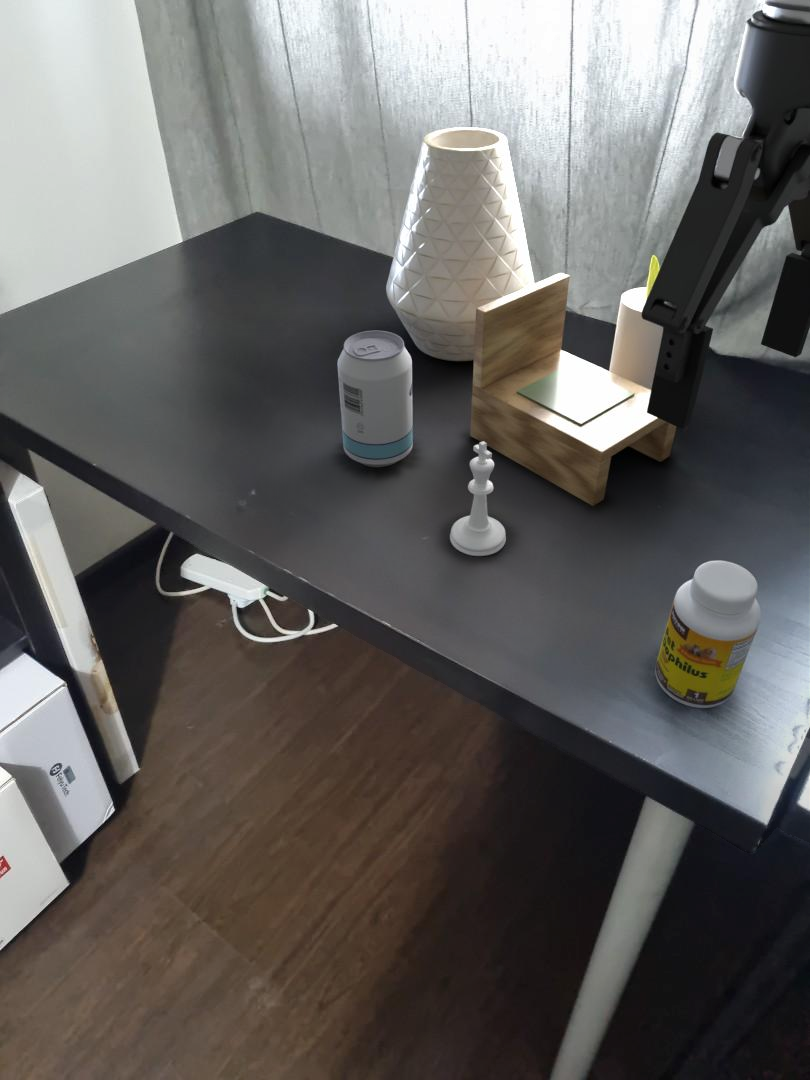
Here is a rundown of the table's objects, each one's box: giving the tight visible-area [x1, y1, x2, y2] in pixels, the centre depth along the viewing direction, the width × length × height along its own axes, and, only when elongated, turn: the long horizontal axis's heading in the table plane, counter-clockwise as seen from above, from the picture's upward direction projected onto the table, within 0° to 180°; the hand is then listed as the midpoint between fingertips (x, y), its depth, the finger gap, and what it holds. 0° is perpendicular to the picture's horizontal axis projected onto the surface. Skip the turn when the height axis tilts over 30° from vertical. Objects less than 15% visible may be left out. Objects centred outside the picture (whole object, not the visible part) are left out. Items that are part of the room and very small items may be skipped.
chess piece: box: [449, 441, 507, 557], centre depth 70 cm, size 5×5×10 cm
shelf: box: [470, 272, 677, 507], centre depth 79 cm, size 16×12×14 cm
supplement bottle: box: [654, 560, 762, 709], centre depth 57 cm, size 6×6×10 cm
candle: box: [608, 254, 663, 390], centre depth 87 cm, size 6×6×15 cm
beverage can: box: [337, 330, 414, 468], centre depth 79 cm, size 7×7×12 cm
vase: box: [385, 126, 536, 362], centre depth 94 cm, size 17×17×23 cm
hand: (727, 382), depth 56 cm, fingers open, 13 cm apart
